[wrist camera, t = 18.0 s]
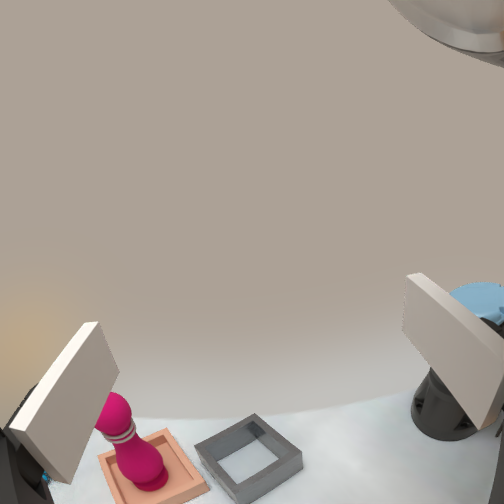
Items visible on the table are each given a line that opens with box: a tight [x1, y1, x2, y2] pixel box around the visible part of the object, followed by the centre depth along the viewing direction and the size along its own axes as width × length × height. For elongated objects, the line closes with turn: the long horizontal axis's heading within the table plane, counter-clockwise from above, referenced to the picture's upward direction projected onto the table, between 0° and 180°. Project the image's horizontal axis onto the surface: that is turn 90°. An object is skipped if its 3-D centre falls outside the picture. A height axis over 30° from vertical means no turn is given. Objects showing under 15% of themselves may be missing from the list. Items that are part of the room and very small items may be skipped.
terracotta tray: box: [98, 428, 210, 504], centre depth 38 cm, size 14×14×3 cm
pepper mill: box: [95, 392, 168, 491], centre depth 35 cm, size 7×7×20 cm
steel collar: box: [194, 413, 303, 504], centre depth 39 cm, size 11×11×5 cm
